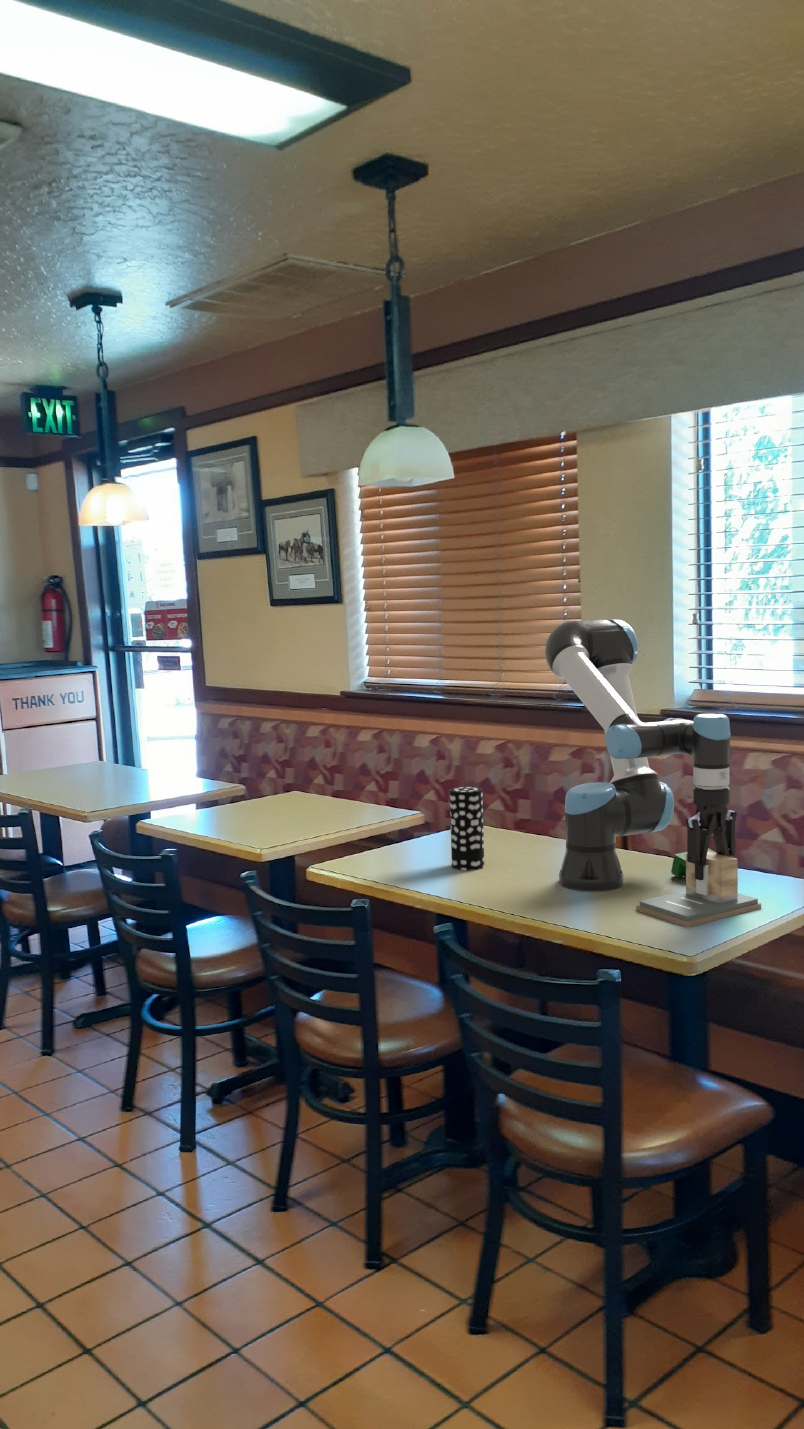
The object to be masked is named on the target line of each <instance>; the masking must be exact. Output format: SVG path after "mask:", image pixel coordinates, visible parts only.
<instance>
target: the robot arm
mask: <svg viewBox="0 0 804 1429" xmlns="http://www.w3.org/2000/svg"><path fill="white" fill-rule="evenodd" d="M544 646H545V648H544V655H545V660H546V663H547V666H548V668H549V669H550V670H551V671H552V673H553V674H554V675H555V677H557V678H558V679H560V680H564V681H565V683H567V685H568V686H569V688H571V690H572V691H573V692H574V694H575V695H576V696H577V697H578V698H579V700H580V701H581V702H582V703H583V705H584V706H585V707H586V709H587V710H588V711H589V713H591V715H592V716H593V717H594V720H596V721H597V722H598V724H599V725H600V726H601V727H602V728H603V730H604V734H605V735H604V743H605V747H606V750H607V753H608V754H609V758H610V761H611V767H612V771H613V777H612V779H611V780H610V781H609V782H605V781H597V782H586V783H582V784H578V785H576V786H573V787H571V788H570V789H569V790H567V792H566V795H565V798H564V800H565V801H564V802H565V803H564V812H565V815H564V816H565V817H564V818H565V819H564V820H565V821H564V822H565V823H564V824H565V853H564V857H563V860H562V864H561V869H560V870H559V873H558V882H559V884H560V885H561V886H562V887H564V888H568V889H572V890H576V891H585V892H586V891H591V892H597V891H598V892H599V891H610V890H614V889H617V888H620V887H622V886H623V885H624V883H625V882H624V871H623V870H622V868H621V863H620V860H619V857H618V855H617V851H616V850H617V849H616V845H617V844H616V843H617V842H616V838H617V837H624V836H625V837H626V836H631V835H639V834H646V835H647V834H651V833H654V832H659V831H662V830H664V829H666V828H667V827H668V825H669V824H670V823H671V820H672V817H673V815H674V809H675V800H674V794H673V791H672V790H671V787H669V785H668V783H664V782H662V781H660V779H659V775H658V773H657V772H656V771H655V770H653V769H652V768H650V765H649V760H648V758H649V757H657V756H658V757H660V756H671V755H679V754H680V755H681V754H682V755H690V756H692V757H693V763H692V764H693V774H692V775H693V778H692V779H693V780H692V782H693V785H695V786H694V787H693V794H692V795H693V803H694V805H695V806H696V808H695V812H694V813H695V814H694V816H692V817H685V825H686V827H687V830H686V831H687V836H686V838H687V839H686V840H687V841H686V843H687V845H686V846H687V847H686V848H687V849H686V850H687V851H686V852H687V861H688V862H690V863H693V864H694V865H695V879H696V893H699V894H702V895H708V865H705V863H706V857H707V852H708V848H709V844H710V839H711V836H713V841H714V845H715V852H716V853H717V854H720V855H724V856H728V857H735V855H736V820H737V816H738V813H737V811H735V810H728V807H727V806H728V805H730V803H731V801H730V799H731V798H730V796H731V789H730V787H729V785H730V763H731V762H730V761H731V759H730V758H731V757H730V756H731V736H732V735H731V734H732V732H731V728H730V727H731V726H730V718H729V717H728V716H727V715H725V714H722V713H718V714H717V713H699V714H696V715H694V717H693V720H691V719H690V720H689V719H684V718H682V717H677V718H676V717H674V718H673V717H669V718H666V719H664V720H663V721H648V722H643V721H642V720H641V719H640V718H639V717H638V712H637V708H636V702H635V698H634V695H633V694H634V693H633V689H632V686H631V680H630V677H629V674H630V672H632V670H633V668H634V666H633V663H635V661H636V659H637V656H638V654H639V653H638V650H639V642H638V639H637V635H636V633H635V631H634V629H633V628H632V626H631V625H630V624H628V623H627V622H625V621H624V620H622V619H612V618H604V619H595V620H594V619H593V620H591V619H590V620H579V621H578V620H570V621H566V622H563V623H561V624H559V625H558V626H556V627H555V628H554V629H553V630H552V631H551V632H550V633H549V635H548V638H547V639H546V643H545V645H544Z"/></svg>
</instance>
